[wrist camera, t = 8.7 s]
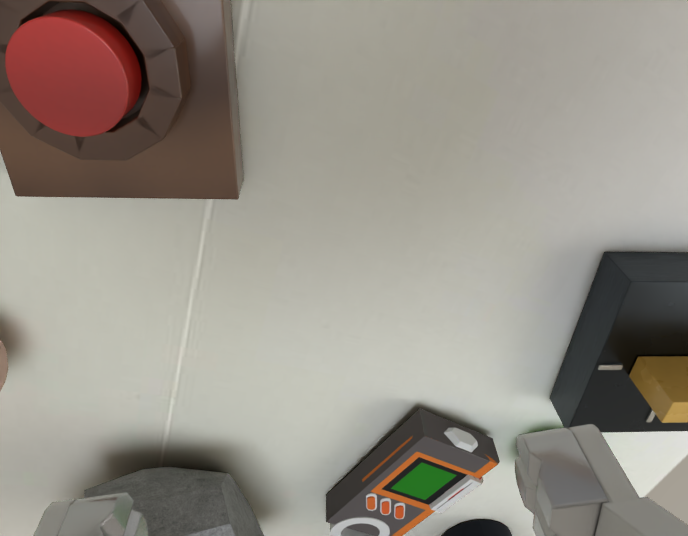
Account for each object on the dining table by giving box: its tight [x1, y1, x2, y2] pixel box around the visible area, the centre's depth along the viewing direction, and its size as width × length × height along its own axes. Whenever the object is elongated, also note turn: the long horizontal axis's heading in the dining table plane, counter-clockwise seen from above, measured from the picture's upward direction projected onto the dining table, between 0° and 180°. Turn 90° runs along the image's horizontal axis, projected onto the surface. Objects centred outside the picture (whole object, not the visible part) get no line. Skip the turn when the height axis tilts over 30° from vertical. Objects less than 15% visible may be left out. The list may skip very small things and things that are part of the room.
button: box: [5, 9, 142, 137], centre depth 18 cm, size 4×4×2 cm
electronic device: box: [326, 409, 500, 536], centre depth 39 cm, size 7×3×15 cm
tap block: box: [550, 252, 688, 432], centre depth 32 cm, size 12×10×3 cm
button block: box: [0, 0, 244, 199], centre depth 20 cm, size 12×10×4 cm
